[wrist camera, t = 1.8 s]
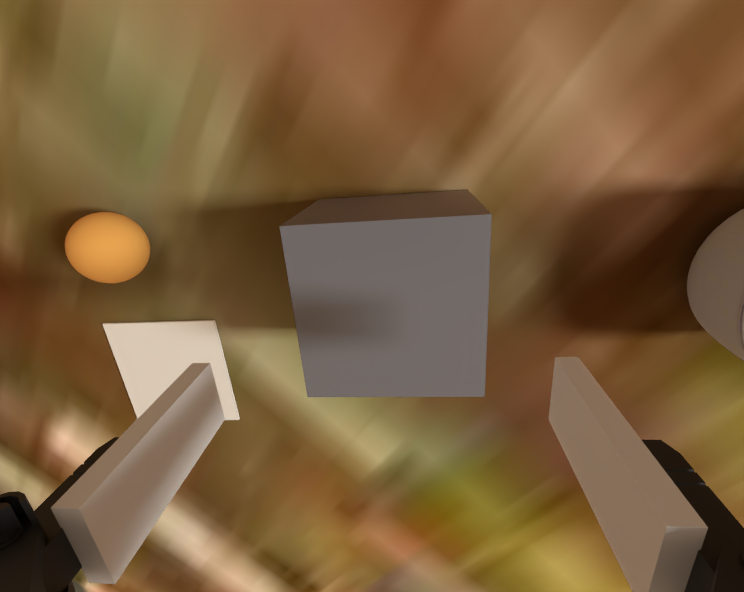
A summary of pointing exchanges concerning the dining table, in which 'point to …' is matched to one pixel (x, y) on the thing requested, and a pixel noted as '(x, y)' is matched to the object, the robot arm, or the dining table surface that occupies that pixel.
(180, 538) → the dining table surface
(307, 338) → the grey block
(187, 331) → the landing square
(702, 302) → the teacup
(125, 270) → the ball
